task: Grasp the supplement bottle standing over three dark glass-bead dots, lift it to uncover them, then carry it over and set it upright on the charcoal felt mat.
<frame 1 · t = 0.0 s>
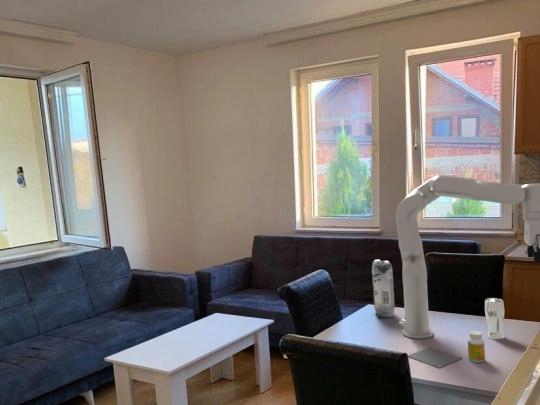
hand: (535, 259, 176), 31 cm above the table, tool pointing down, fingers open, 9 cm apart
supplement bottle: (476, 360, 162), on the table, touching glass bead dots
felt mat: (434, 357, 166), on the table
glass bead dots: (476, 359, 162), on the table
juice carton: (384, 315, 219), on the table
beer glass: (495, 337, 182), on the table
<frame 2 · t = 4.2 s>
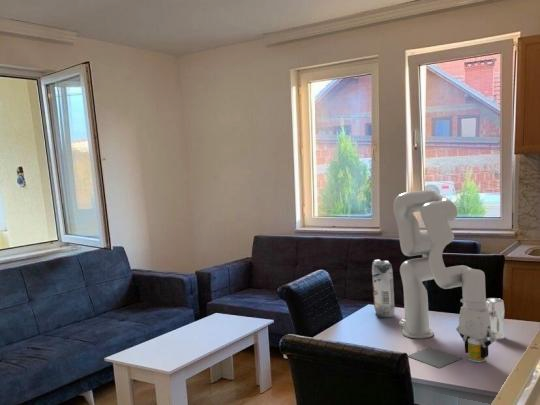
hand: (476, 354, 162), 2 cm above the table, tool pointing down, fingers closed on supplement bottle, 5 cm apart
supplement bottle: (476, 360, 162), on the table, touching glass bead dots, gripper
everything else where it was.
when the fingers open (4 cm above the table, at t = 11.3 s): supplement bottle drops 1 cm, resting on felt mat.
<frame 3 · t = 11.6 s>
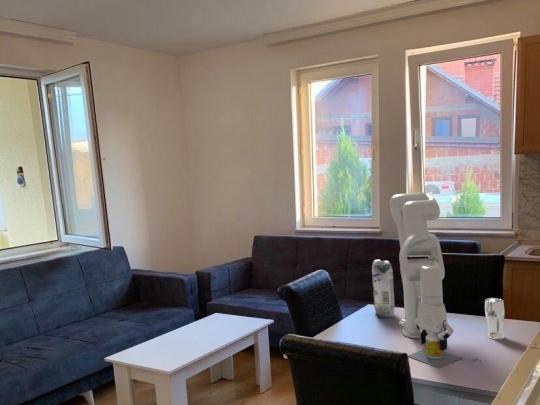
hand: (433, 346, 166), 4 cm above the table, tool pointing down, fingers open, 7 cm apart
supplement bottle: (434, 356, 166), resting on felt mat
everything else where it was.
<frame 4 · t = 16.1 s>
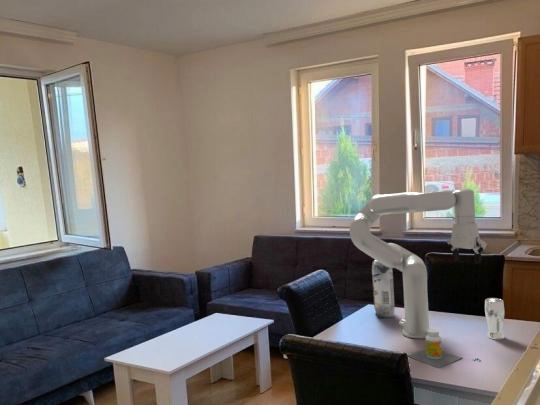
hand: (466, 261, 184), 30 cm above the table, tool pointing down, fingers open, 9 cm apart
nothing on the table moved.
at the end: supplement bottle inside the target area on the felt mat (0.1 cm from its centre), point 0.1 cm above the felt mat's base; supplement bottle tilted 0°; the gripper is holding nothing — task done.
